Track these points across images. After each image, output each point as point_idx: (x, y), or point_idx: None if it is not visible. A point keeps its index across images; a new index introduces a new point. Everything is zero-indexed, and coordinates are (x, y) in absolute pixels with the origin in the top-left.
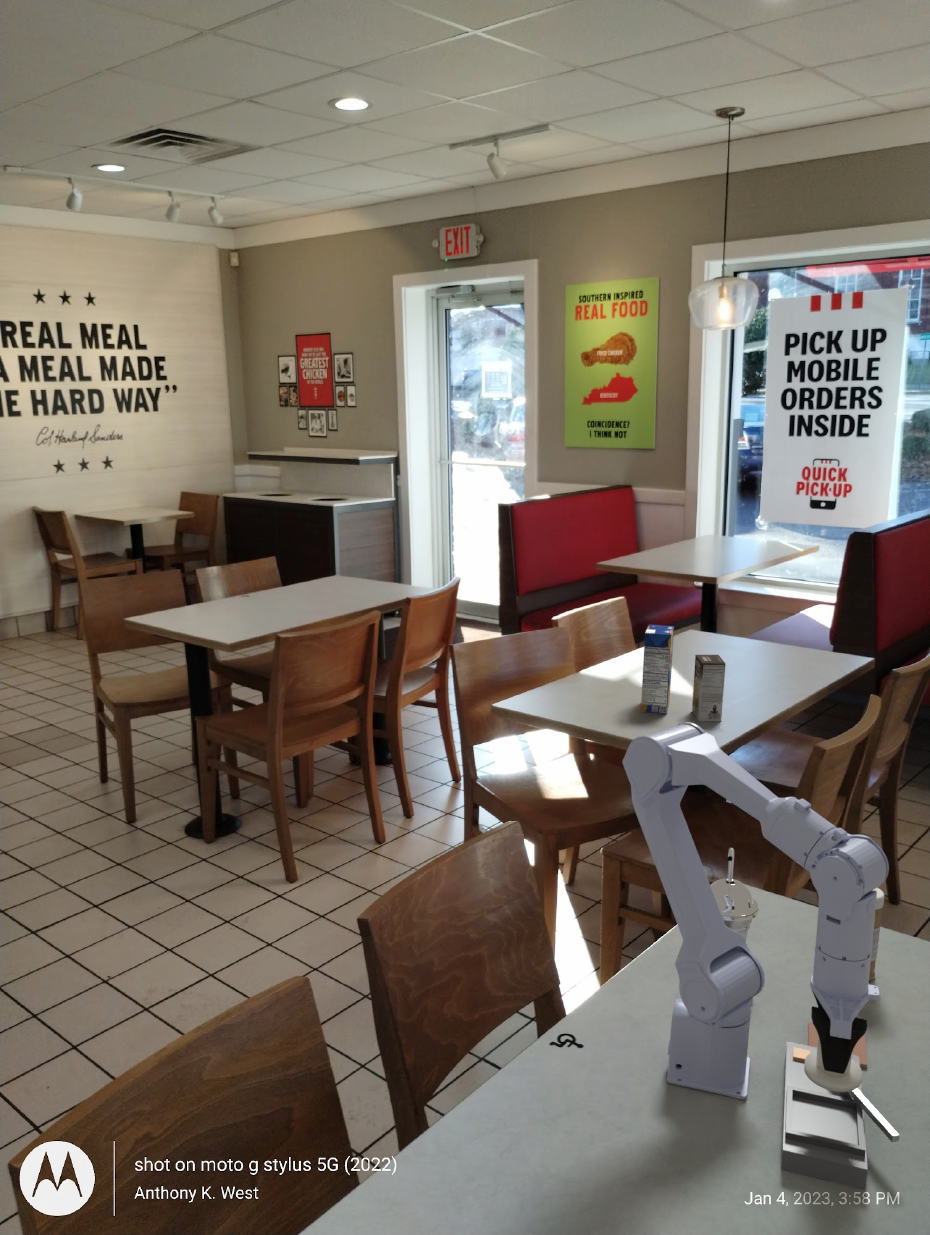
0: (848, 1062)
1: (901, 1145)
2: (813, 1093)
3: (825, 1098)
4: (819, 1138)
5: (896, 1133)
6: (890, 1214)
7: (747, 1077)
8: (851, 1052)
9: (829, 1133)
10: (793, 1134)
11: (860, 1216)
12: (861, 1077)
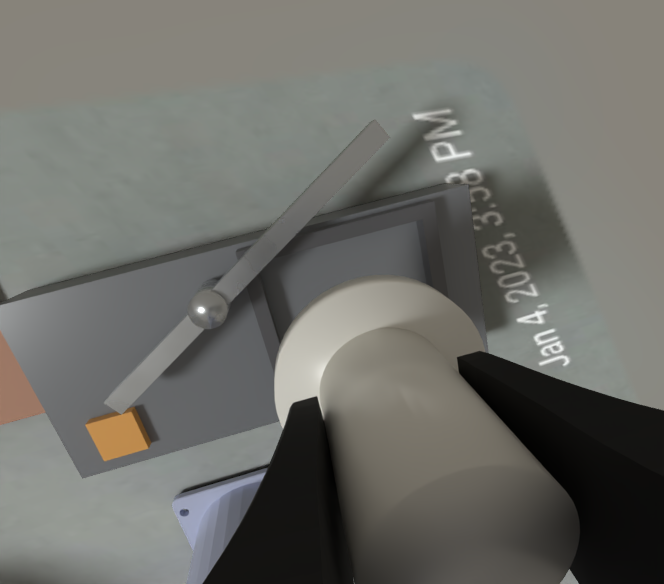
0: (523, 367)
1: (248, 133)
2: None
3: (277, 336)
4: None
5: (374, 128)
6: (489, 121)
7: (245, 480)
8: (606, 395)
9: None
10: None
11: (520, 177)
12: (372, 281)
